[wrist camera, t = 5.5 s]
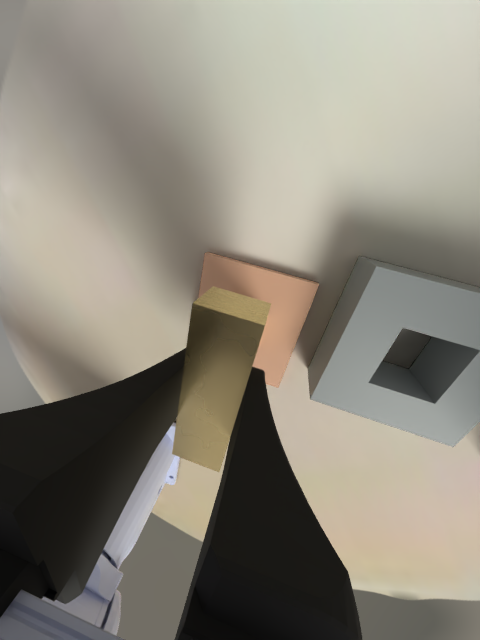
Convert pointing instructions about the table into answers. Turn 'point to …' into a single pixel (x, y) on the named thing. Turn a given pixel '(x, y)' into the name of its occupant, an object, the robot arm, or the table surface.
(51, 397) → the table surface
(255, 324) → the brass rectangular peg
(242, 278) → the terracotta pad
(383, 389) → the slate socket block
